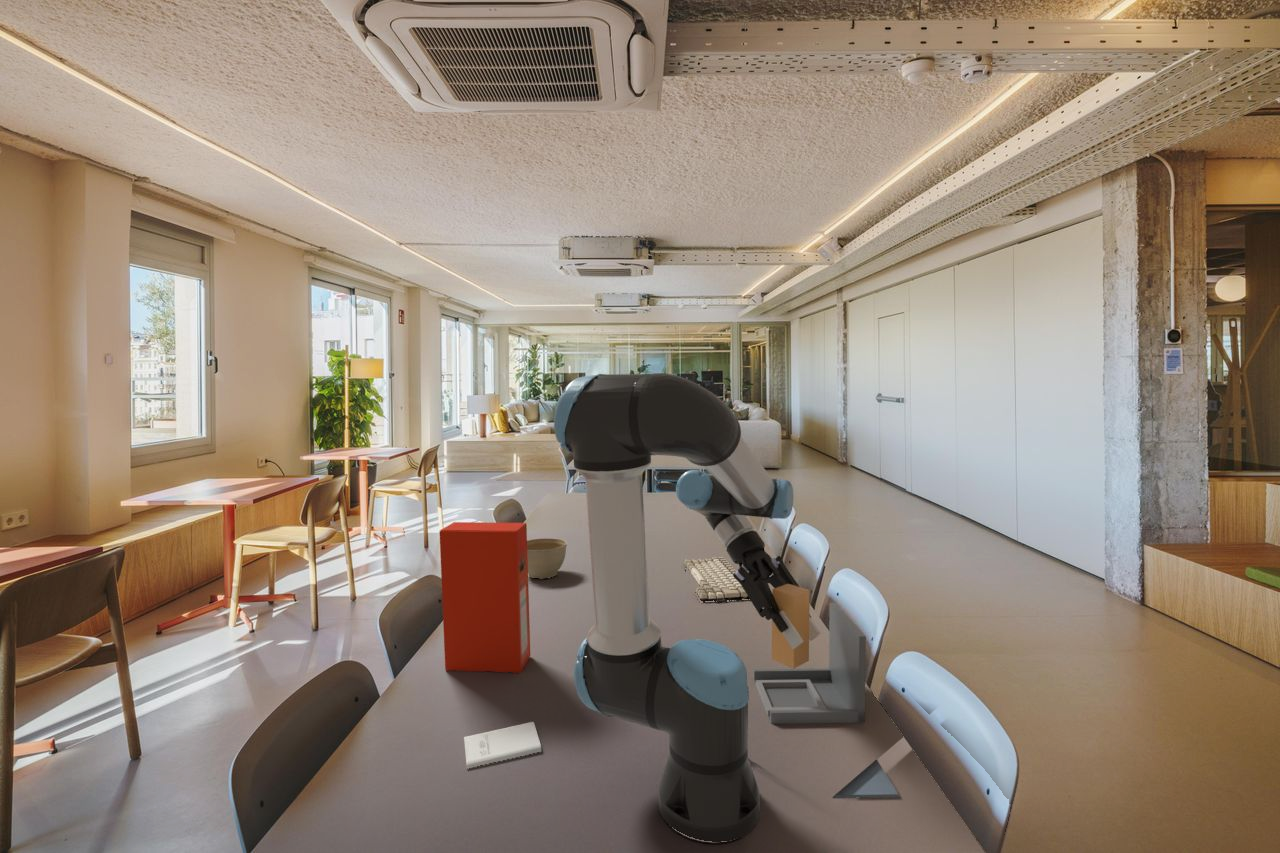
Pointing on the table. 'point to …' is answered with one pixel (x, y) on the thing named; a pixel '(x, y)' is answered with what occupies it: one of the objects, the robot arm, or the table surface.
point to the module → (798, 613)
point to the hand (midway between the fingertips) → (807, 641)
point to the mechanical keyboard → (715, 580)
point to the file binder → (485, 596)
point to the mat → (869, 784)
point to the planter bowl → (545, 556)
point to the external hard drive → (501, 744)
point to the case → (820, 681)
